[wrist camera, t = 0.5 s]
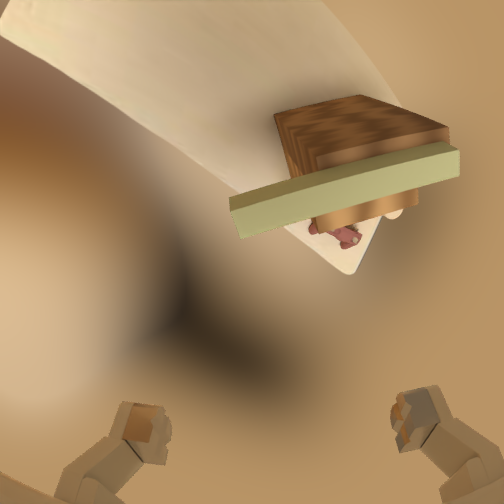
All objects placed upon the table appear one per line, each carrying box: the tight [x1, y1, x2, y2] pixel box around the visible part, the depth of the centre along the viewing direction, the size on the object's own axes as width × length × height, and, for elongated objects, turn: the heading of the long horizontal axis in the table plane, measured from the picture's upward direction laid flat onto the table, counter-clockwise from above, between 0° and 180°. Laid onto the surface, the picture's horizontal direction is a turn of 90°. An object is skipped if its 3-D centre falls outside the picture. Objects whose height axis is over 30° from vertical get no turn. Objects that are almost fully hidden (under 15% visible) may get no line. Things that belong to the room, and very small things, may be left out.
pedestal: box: [274, 95, 450, 234], centre depth 42 cm, size 16×14×25 cm
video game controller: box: [309, 224, 362, 249], centre depth 60 cm, size 10×5×7 cm, turn 62°
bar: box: [229, 141, 459, 239], centre depth 29 cm, size 24×3×3 cm, turn 106°
